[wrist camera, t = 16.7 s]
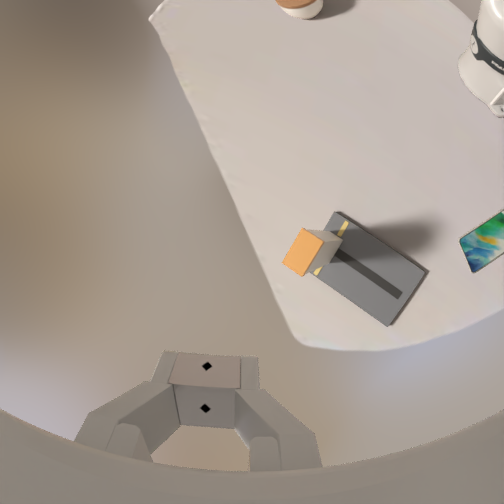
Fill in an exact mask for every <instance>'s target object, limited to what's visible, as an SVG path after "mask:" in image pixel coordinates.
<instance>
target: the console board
mask: <svg viewBox="0 0 504 504" xmlns="http://www.w3.org/2000/svg"><path fill="white" fill-rule="evenodd" d="M323 231H330V232H332V233H333V234H335V235H336V236H338V237H339V238H341V239H342V240H343V241H342V243H341V245H340V246H339V248H338V250H337V251H336V253H335V255H334V256H333V258H332V259H331V261H330V263H329V264H327V265H324V266H322V267H320V268H318V269H315V270H313V271H311V272H310V273H311V274H313V275H314V276H316V277H317V278H319V279H320V280H321V281H323V282H324V283H326V284H327V285H329V286H330V287H331V288H333V289H334V290H336V291H337V292H339V293H340V294H341V295H343V296H344V297H346V298H347V299H349V300H350V301H351V302H353V303H354V304H356V305H357V306H358V307H360V308H361V309H363V310H364V311H366V312H367V313H368V314H370V315H371V316H373V317H374V318H375V319H377V320H378V321H380V322H381V323H382V324H384V325H385V326H387V327H388V326H389V324H390V323H391V322H392V320H393V319H394V318H395V316H396V315H397V314H398V312H399V311H400V309H401V308H402V307H403V305H404V304H405V302H406V301H407V299H408V298H409V296H410V295H411V293H412V292H413V290H414V289H415V287H416V286H417V284H418V283H419V281H420V280H421V278H422V277H423V275H424V273H425V272H424V271H423V270H421V269H420V268H419V267H417V266H416V265H415V264H413V263H412V262H410V261H409V260H407V259H406V258H405V257H403V256H402V255H400V254H399V253H397V252H396V251H395V250H393V249H392V248H390V247H389V246H387V245H386V244H384V243H383V242H381V241H380V240H378V239H377V238H375V237H374V236H372V235H371V234H369V233H368V232H366V231H365V230H363V229H361V228H360V227H358V226H357V225H355V224H354V223H352V222H350V221H349V220H347V219H346V218H344V217H343V216H341V215H339V214H338V213H336V212H334V213H333V215H332V216H331V218H330V220H329V222H328V223H327V225H326V227H325V229H324V230H323Z"/></svg>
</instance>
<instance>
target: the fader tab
mask: <svg viewBox="0 0 504 504" xmlns="http://www.w3.org/2000/svg"><path fill="white" fill-rule="evenodd" d="M342 241H343V240H342V239H341V238H339V237H338V236H336V235H335V234H333V233H332V232H330V231H320V230H306V229H305V228H302V229H301V231H300V232H299V234H298V236H297V238H296V239H295V241H294V243H293V245H292V246H291V248H290V250H289V251H288V253H287V255H286V256H285V258H284V260H283V262H282V263H283V264H284V265H286V266H287V267H289V268H290V269H291V270H293V271H294V272H296V273H297V274H299V275H300V276H301V277H302V276H304V275H305V274H306V273H309V272H311V271H313V270H315V269H318V268H320V267H322V266H324V265H327V264H329V263H330V261H331V259H332V258H333V256H334V255H335V253H336V251H337V250H338V248H339V246H340V245H341V243H342Z"/></svg>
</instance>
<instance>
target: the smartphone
mask: <svg viewBox="0 0 504 504" xmlns="http://www.w3.org/2000/svg"><path fill="white" fill-rule="evenodd" d="M458 243H459V246H460V248H461V250H462V253H463V255H464V257H465V260H466V262H467V265H468V267H469V270H470V272H471V273H476V272H477V271H479V270H480V269H482V268H483V267H485V266H486V265H488V264H489V263H491V262H492V261H494V260H495V259H497V258H498V257H500V256H501V255H502V254H504V208H503V209H502V210H500V211H499V212H497V213H496V214H495V215H493V216H492V217H490V218H489V219H487V220H486V221H484V222H482V223H481V224H479V225H478V226H477V227H475V228H473V229H472V230H470V231H469V232H468V233H466V234H464V235H463V236H461V237H460V238H459V239H458Z"/></svg>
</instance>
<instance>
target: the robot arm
mask: <svg viewBox="0 0 504 504" xmlns="http://www.w3.org/2000/svg"><path fill="white" fill-rule="evenodd" d="M458 69H459V73H460V76H461V78H462V80H463V82H464V83H465V85H466V86H467V88H468V89H469V90H470V91H471V92H472V93H473V94H474V95H475V96H476V97H477V98H479V99H480V100H481V101H483V102H484V103H485V104H486V105H487V106H488V107H489V108H490V110H491V111H492V112H493V113H494V114H495V115H496V116H497V117H504V0H481V5H480V11H479V16H478V19H477V20H476V21H475V23H474V27H473V30H472V34H471V39H470V45H469V46H468V48H467V49H466V51H465V52H464V53H463V54H462V55H461V56H460V58H459V61H458ZM501 109H502V110H503V112H502V111H501ZM240 373H241V377H240ZM180 425H187V426H201V427H214V428H215V427H216V428H228V429H235V431H236V433H237V434H238V435H239V437H240V438H241V439H242V441H243V442H244V444H245V445H246V446H247V448H248V449H249V450H250V451H249V465H248V471H244V472H243V471H219V470H206V469H195V468H186V467H178V466H172V465H164V464H159V463H153V460H152V458H151V456H150V454H152V453H153V452H154V451H155V450H156V449H157V448H158V447H159V446H160V445H161V444H162V443H163V442H165V441H166V440H167V439H168V438H169V437H170V436H171V435H172V434H173V433H174V432H175V431H176V430H177V429H178V428H179V427H180ZM0 504H504V409H503V410H502V411H500V412H498V413H496V414H494V415H492V416H491V417H488V418H487V419H484V420H482V421H480V422H478V423H476V424H474V425H472V426H469V427H467V428H465V429H462V430H460V431H458V432H455V433H453V434H450V435H448V436H445V437H443V438H440V439H437V440H434V441H432V442H429V443H426V444H423V445H420V446H417V447H413V448H410V449H407V450H403V451H400V452H396V453H392V454H389V455H385V456H381V457H376V458H372V459H367V460H362V461H357V462H352V463H346V464H341V465H334V466H327V467H322V463H321V458H320V454H319V450H318V446H317V441H316V437H315V433H314V432H312V431H311V430H310V429H309V428H308V427H306V426H305V425H304V424H303V423H302V422H301V421H299V420H298V419H297V418H296V417H295V416H294V415H293V414H291V413H290V412H289V411H288V410H287V409H286V408H285V407H283V406H282V405H281V404H280V403H279V402H278V401H277V400H276V399H275V398H273V397H272V396H271V395H270V394H269V393H268V392H267V391H266V390H265V389H260V383H259V367H258V357H257V355H253V356H250V355H249V356H223V355H208V354H197V353H186V352H175V351H165V350H164V351H163V352H162V353H161V356H160V358H159V361H158V363H157V365H156V368H155V370H154V373H153V375H152V378H151V380H150V382H148V381H145V382H143V383H141V384H140V385H138V386H136V387H134V388H133V389H131V390H129V391H128V392H126V393H124V394H122V395H121V396H119V397H117V398H115V399H114V400H112V401H110V402H108V403H106V404H105V405H103V406H101V407H99V408H98V409H96V410H94V411H92V412H90V413H89V414H88V416H87V418H86V419H85V421H84V423H83V425H82V427H81V429H80V431H79V432H78V434H77V436H76V438H75V440H74V441H71V440H68V439H66V438H63V437H60V436H58V435H55V434H52V433H50V432H48V431H45V430H43V429H41V428H38V427H36V426H34V425H32V424H29V423H27V422H25V421H23V420H21V419H19V418H17V417H15V416H13V415H11V414H9V413H7V412H6V411H4V410H2V409H0Z"/></svg>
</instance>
